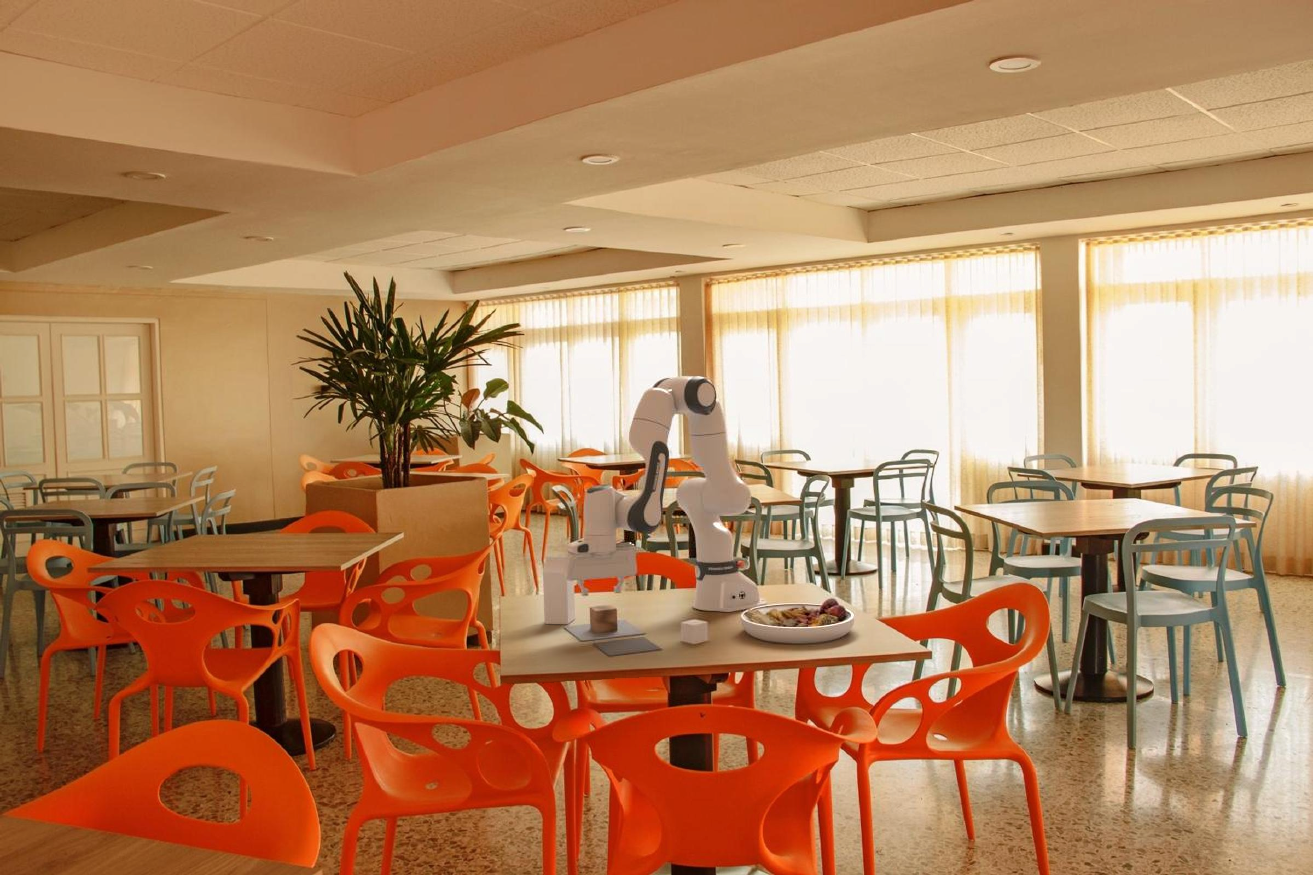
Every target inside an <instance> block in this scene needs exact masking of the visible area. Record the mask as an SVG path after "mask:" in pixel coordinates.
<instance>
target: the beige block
mask: <svg viewBox="0 0 1313 875" xmlns="http://www.w3.org/2000/svg"><path fill="white" fill-rule="evenodd" d="M708 625H709V622H708V621H704V620H700V619H699V620H698V619H695V618H694V619H690V620H689V619H688V620H686V621H681V622H680V641H681V642H683V643H688V644H691V645H697V644H700V643H704V642H705V643H706V642H708V641H709V628H708V627H709V626H708Z"/></svg>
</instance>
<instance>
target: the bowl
mask: <svg viewBox="0 0 1313 875" xmlns="http://www.w3.org/2000/svg"><path fill="white" fill-rule="evenodd" d="M740 623H741V624H740V625H741V626H742V628H743V630H744V631H745V632H746V633H747V634H748V635H750V636H751V637H753V638H755V639H758V640H760V641H765V642H770V643H779V644H790V645H791V644H795V645H796V644H797V645H801V644H803V645H804V644H817V643H819V644H820V643H826V642H831V641H835V640H837V639H840V638H842V637H845V636H846V635H847V634H849V632H850V631H851V630H852V628H853V626H854V623H855V615H854V613H853V612H852V611H850V610H849V609H846V608H845V607H844V606H843V605H841V604H839V602H838V601H837V599H835V598H827V599H826V600H824V601H823V603H822V604H820V603H803V602H802V603H798V602H797V603H794V602H793V603H792V602H791V603H790V602H789V603H775V604H767V605H766V606H760V607H755V608H750V609H745V611H744V610H743V612H741V613H740Z"/></svg>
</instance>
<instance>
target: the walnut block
mask: <svg viewBox="0 0 1313 875" xmlns="http://www.w3.org/2000/svg"><path fill="white" fill-rule="evenodd" d="M617 621H618V608H616V607H615V606H613V605H611V604H606V605H597V606H589V624H590V629H592V630H593V631H595V632H596V633H600V632H609V631H618V628H617Z"/></svg>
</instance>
